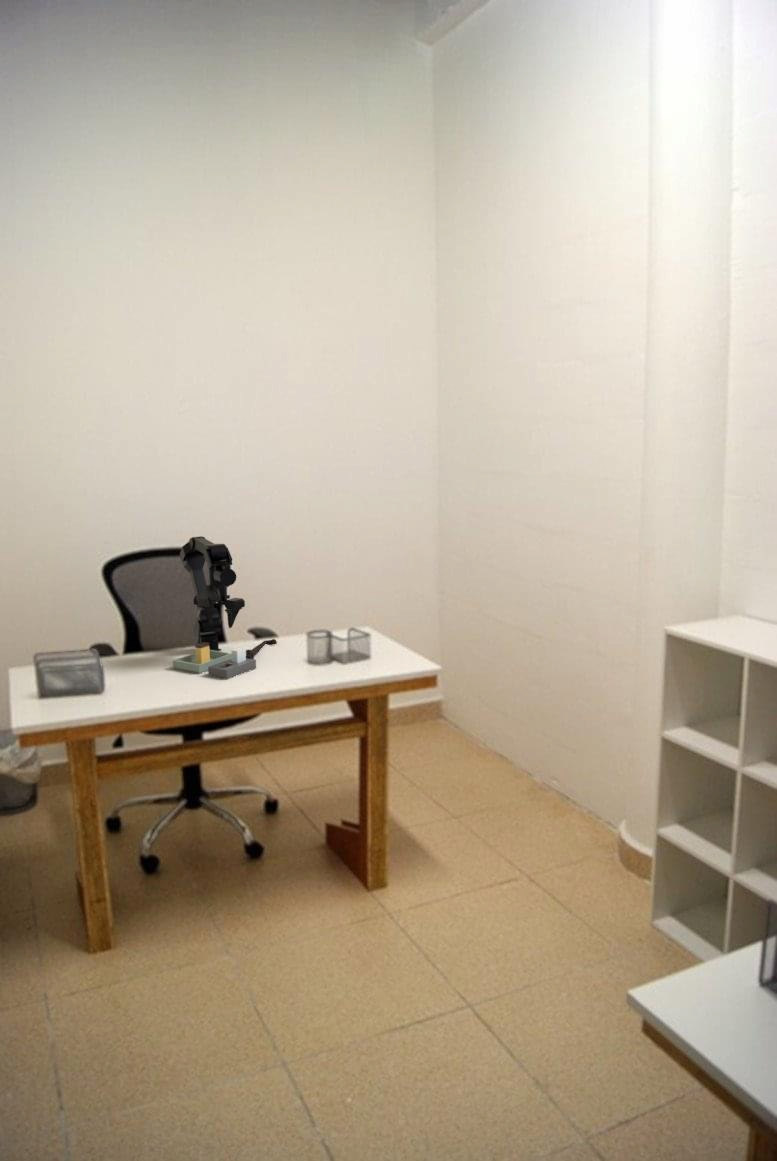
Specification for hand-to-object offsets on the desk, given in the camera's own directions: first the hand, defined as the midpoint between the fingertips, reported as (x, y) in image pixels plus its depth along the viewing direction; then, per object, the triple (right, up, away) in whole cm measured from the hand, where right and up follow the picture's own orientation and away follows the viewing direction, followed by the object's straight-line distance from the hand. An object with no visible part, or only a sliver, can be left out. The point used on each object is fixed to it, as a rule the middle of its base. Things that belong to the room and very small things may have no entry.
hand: (220, 626), depth 303 cm
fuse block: (+6, -14, -12) cm, 20 cm away
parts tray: (-5, -13, -4) cm, 14 cm away
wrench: (+13, -11, +9) cm, 19 cm away
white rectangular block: (+8, -14, -9) cm, 19 cm away
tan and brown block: (-5, -12, -4) cm, 14 cm away
